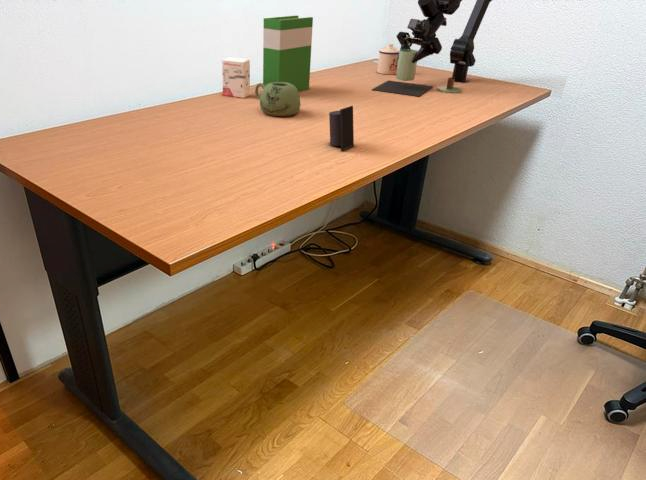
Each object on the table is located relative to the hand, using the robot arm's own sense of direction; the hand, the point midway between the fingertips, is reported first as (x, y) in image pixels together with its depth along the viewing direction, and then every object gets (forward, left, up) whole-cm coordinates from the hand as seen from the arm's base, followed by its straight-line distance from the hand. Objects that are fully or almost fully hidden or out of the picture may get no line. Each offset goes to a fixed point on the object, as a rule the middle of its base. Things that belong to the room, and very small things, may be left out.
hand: (405, 60), depth 188 cm
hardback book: (+29, -34, -10) cm, 46 cm away
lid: (-9, +17, -10) cm, 21 cm away
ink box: (+46, -45, -10) cm, 66 cm away
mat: (-1, +1, -10) cm, 10 cm away
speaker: (+77, +7, -10) cm, 78 cm away
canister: (-1, +1, -7) cm, 7 cm away
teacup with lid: (-29, -14, -10) cm, 34 cm away
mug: (+57, -23, -10) cm, 63 cm away
